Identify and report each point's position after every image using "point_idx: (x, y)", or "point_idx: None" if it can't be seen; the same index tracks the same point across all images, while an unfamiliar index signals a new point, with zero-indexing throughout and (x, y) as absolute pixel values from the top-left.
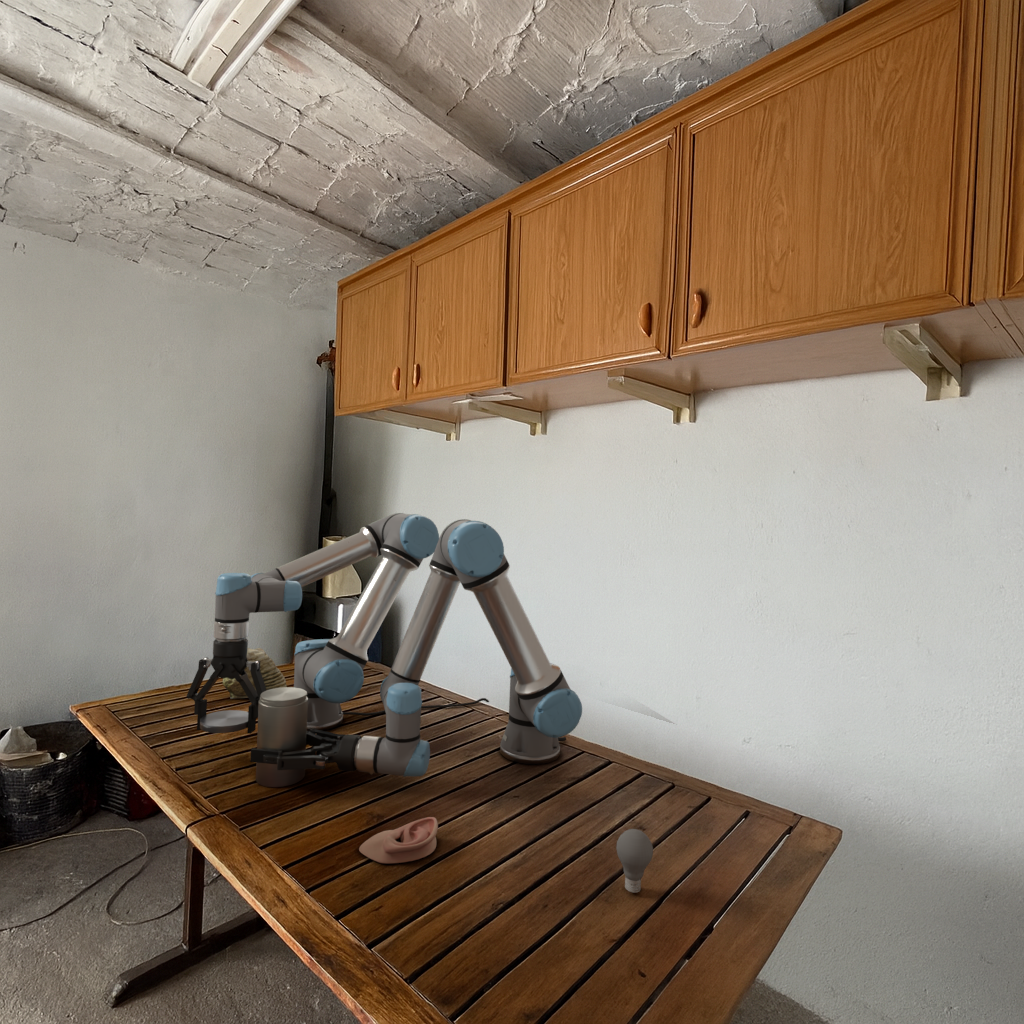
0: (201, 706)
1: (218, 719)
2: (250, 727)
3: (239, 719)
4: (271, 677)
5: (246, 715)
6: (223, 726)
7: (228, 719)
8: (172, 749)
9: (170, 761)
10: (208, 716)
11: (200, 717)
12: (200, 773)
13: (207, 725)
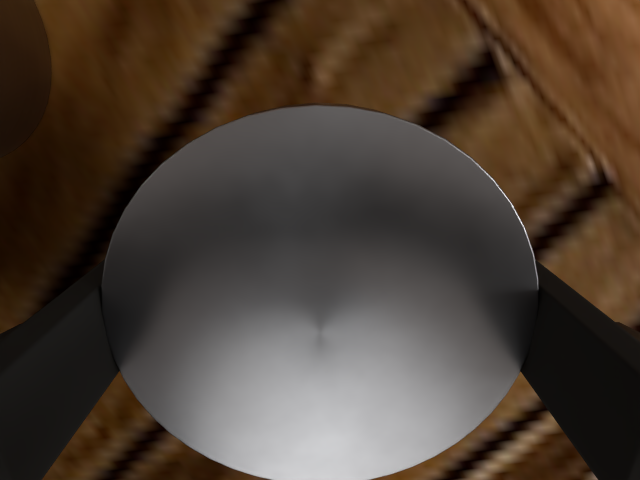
0: (619, 365)
1: (372, 287)
2: (99, 267)
3: (195, 318)
4: None
5: (194, 406)
6: (235, 121)
7: (287, 303)
8: (594, 280)
9: (558, 153)
10: (489, 337)
11: (548, 293)
12: (352, 28)
13: (407, 121)
